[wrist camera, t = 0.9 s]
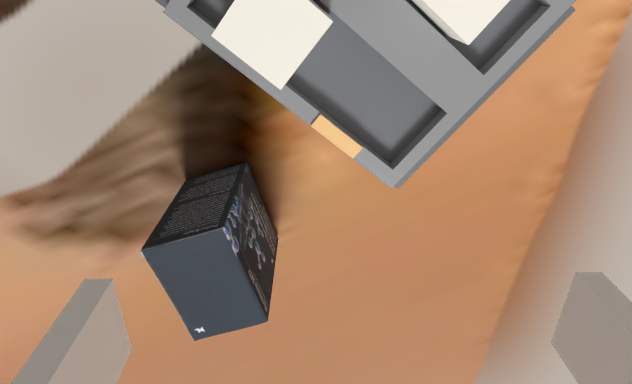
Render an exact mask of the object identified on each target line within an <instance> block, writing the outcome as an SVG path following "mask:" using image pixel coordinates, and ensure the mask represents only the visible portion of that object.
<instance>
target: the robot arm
mask: <svg viewBox="0 0 632 384" xmlns="http://www.w3.org/2000/svg"><path fill="white" fill-rule="evenodd" d="M551 343H552V345H553V346H554V348H555V349H556V351H557V352H558V354H559V355H560V357H561V358H562V360H563V361H564V363H565V364H566V366H567V367H568V369H569V370H570V372H571V373H572V375H573V376H574V378H575V379H576V381H577V382H578V384H632V302H631V301H630V300H629V299H628V298H627V297H626V296H625V295H624V294H623V293H622V292H621V291H620V290H619V289H618V288H617V287H616V286H615V285H614V284H613V283H612V282H611V281H610V280H609V279H608V278H607V277H606V276H605V275H604V274H603V273H602V272H583V273H575V276H574V278H573V282H572V284H571V287H570V290H569V293H568V295H567V298H566V301H565V304H564V307H563V309H562V312H561V315H560V318H559V321H558V324H557V326H556V329H555V332H554V335H553V338H552V340H551ZM131 350H132V348H131V345H130V341H129V337H128V333H127V330H126V326H125V322H124V319H123V315H122V311H121V307H120V304H119V300H118V296H117V293H116V289H115V285H114V282H113V279H85V280H84V281H83V282H82V284H81V285H80V287H79V288H78V290H77V291H76V292H75V294H74V295H73V297H72V298H71V300H70V301H69V302H68V304H67V305H66V307H65V308H64V309H63V311H62V312H61V314H60V315H59V317H58V318H57V319H56V321H55V322H54V324H53V325H52V326H51V328H50V329H49V331H48V332H47V334H46V335H45V336H44V338H43V339H42V341H41V342H40V344H39V345H38V346H37V348H36V349H35V351H34V352H33V353H32V355H31V356H30V358H29V359H28V361H27V362H26V363H25V365H24V366H23V368H22V369H21V370H20V372H19V373H18V375H17V376H16V378H15V379H14V380H13V382H12V383H11V384H117V382H118V379H119V377H120V375H121V373H122V370H123V368H124V366H125V364H126V362H127V359H128V357H129V355H130V353H131Z"/></svg>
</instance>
